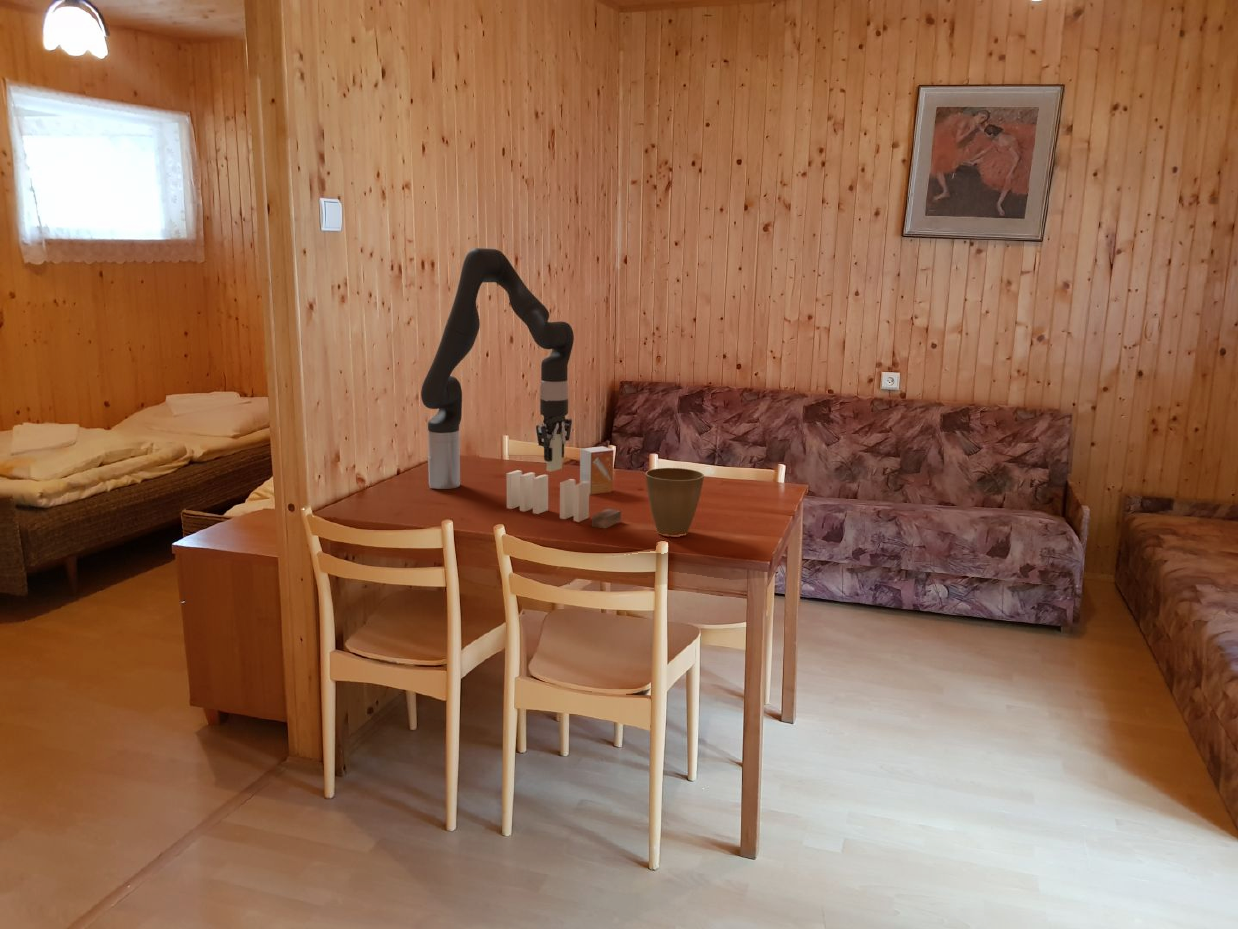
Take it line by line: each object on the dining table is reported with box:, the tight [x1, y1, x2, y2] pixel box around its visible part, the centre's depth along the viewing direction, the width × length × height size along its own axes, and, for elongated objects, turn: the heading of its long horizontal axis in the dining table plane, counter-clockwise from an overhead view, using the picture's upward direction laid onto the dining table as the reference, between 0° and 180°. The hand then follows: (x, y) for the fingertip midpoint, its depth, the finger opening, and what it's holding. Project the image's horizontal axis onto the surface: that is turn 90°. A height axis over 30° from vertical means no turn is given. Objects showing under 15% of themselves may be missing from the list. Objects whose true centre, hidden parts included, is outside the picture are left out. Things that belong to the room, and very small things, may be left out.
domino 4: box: [546, 434, 563, 473], centre depth 262 cm, size 2×5×10 cm, turn 149°
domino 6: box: [573, 481, 590, 523], centre depth 261 cm, size 2×5×10 cm, turn 149°
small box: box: [579, 446, 614, 496], centre depth 290 cm, size 8×6×13 cm
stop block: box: [591, 508, 622, 530], centre depth 257 cm, size 4×8×3 cm, turn 149°
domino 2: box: [519, 471, 536, 512], centre depth 270 cm, size 2×5×10 cm, turn 149°
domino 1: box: [506, 469, 523, 510], centre depth 272 cm, size 2×5×10 cm, turn 149°
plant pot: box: [645, 467, 705, 535], centre depth 249 cm, size 15×15×16 cm
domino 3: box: [532, 473, 549, 515], centre depth 267 cm, size 2×5×10 cm, turn 149°
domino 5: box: [559, 478, 576, 520], centre depth 263 cm, size 2×5×10 cm, turn 149°
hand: (554, 458), depth 263 cm, fingers closed on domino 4, 5 cm apart
